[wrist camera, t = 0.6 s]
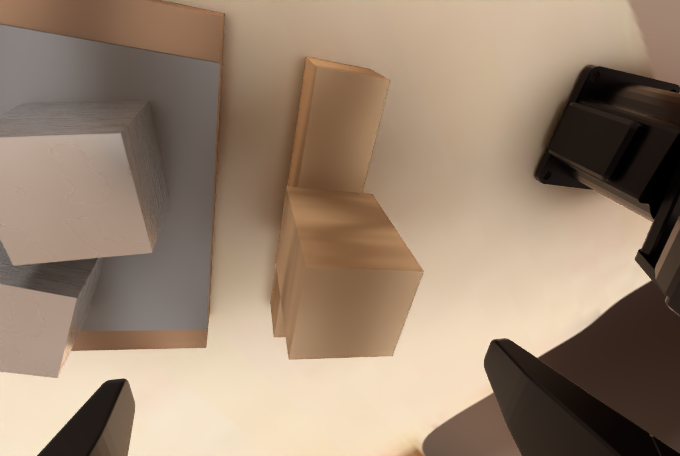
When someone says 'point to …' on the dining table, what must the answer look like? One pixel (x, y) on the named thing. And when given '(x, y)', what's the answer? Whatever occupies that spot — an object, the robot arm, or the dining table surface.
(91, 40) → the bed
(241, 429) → the dining table surface
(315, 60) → the tan inverted t block
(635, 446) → the robot arm
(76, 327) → the grey cubic block
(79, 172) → the pale grey cube
